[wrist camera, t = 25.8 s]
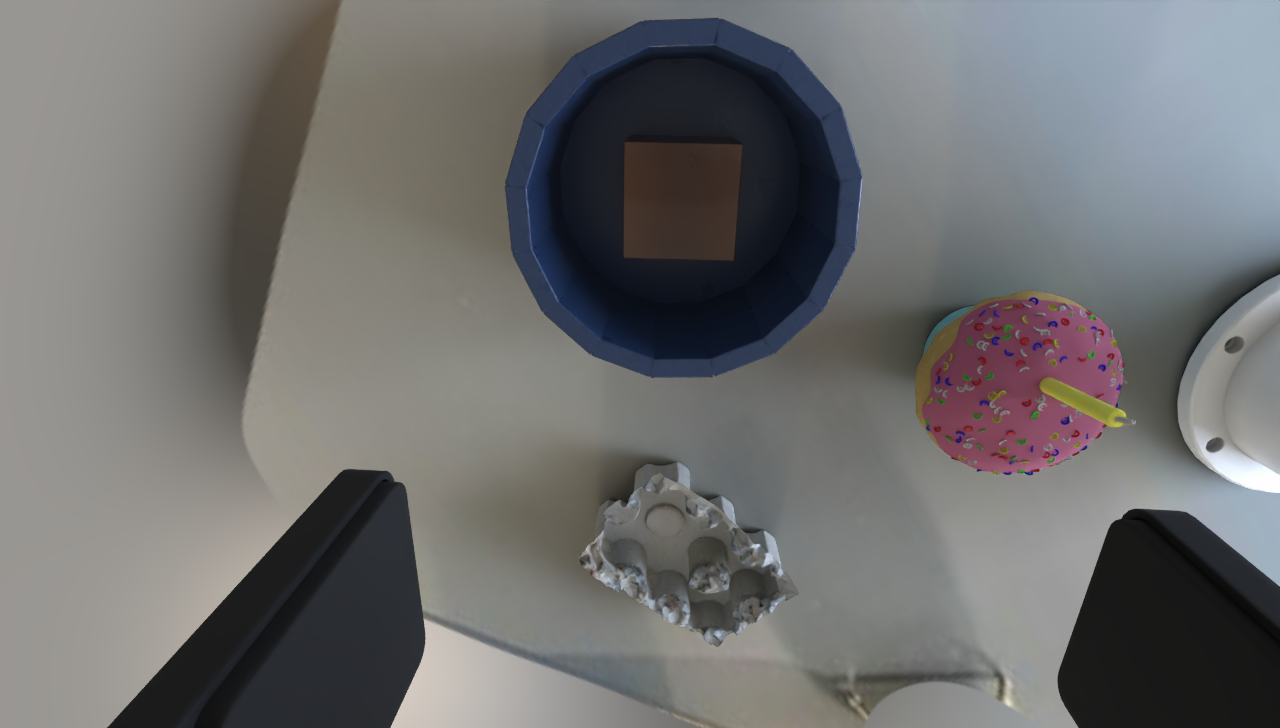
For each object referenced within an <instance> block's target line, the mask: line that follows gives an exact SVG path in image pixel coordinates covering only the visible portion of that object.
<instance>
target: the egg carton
mask: <svg viewBox="0 0 1280 728" xmlns="http://www.w3.org/2000/svg"><path fill="white" fill-rule="evenodd" d="M594 534H595V536H596V539H595V540H594V541H593V542H592V543H591V544H588V546H587V548H586V549H585V550H584V551H583V553H582V554H581V555H580V557H579V560H580V562H581V565H582V567H583V568H585V569H588V570H589V571H590V574H591V575H592V576H593V577H595V578H596V579H599V580H601V581H602V582H603V583H604V584H605V585H606V586H608V587H610V588H611V589H614V590H616V591H617V592H620V591H621V590H622V589H623V590H624V591H625V592H627V593H628V594H629V595H630V596H631V597H632V598H633V599H634V600H635V601H636V602H638V603H641V602H642V603H643V604H645V605H646V606H648V607H649V608H651V609H652V610H654V611H655V612H656V613H657V614H658V615H659V616H660V617H661V618H662V619H664V620H667V621H669V622H671V623H673V624H676V625H678V626H681V627H685V628H687V629H688V630H690V631H692V632H700V633H701V634H702V635H703V638H704V640H705V641H706V642H708V643H709V644H714V645H715V646H717V647H718V646H719V645H720V644H721V643H722V641H723V639H724V638H725V636H727V635H728V634H730V633H731V632H734V633H735V634H736V635H738V634H740V633H741V632H742V631H743V629H744V628H745V626H747V625H748V624H750V623H753V622H757V621H758V620H759V619H760V618H761V617H762V616H764V615H767V614H769V613H772V612H773V610H774V608H775V607H776V605H777V604H778V602H782V601H786V600H788V599H790V598H792V597H794V596H796V595H797V594H799V593H798V590H797V588H796V587H795V585H794V584H793V582H792V580H791V579H790V577H789V576H788V575H787V573H786V572H785V571H784V570H783V568H782V567H781V566H780V565H781V563H780V558H779V554H778V549H777V545H776V542H775V538H774V537H773V536H771V535H770V534H769V533H767V532H766V531H764V530H761V531H759V532H757V533H747V534H746V533H745V532H744V531H742V530H741V529H740V528H739V527H738V526H737V525H736V521H735V515H734V507H733V505H732V504H731V503H730V501H728V500H726V499H725V498H724V497H723V496H719V497H716V498H714V499H712V500H707V499H704V498H702V497H700V496H699V495H697V494H696V493H694V492H693V491H692V490H690V472H689V470H688V469H687V468H686V467H685V466H684V465H683V464H681V463H679V462H675V463H673V464H670V465H664V466H657V465H652V464H646V465H644V466H643V467H642V468H640V469H638V470H637V471H636V474H635V484H634V493H633V494H632V495H631V496H630V498H629V501H628V502H627V503H625V502H623V501H621V500H618V501H616V502H614V501H612V500H610V499H609V500H607V501H605V502H604V503H603V504H602V505H600V507H599V508H598V510H597V516H596V523H595V531H594Z"/></svg>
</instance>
